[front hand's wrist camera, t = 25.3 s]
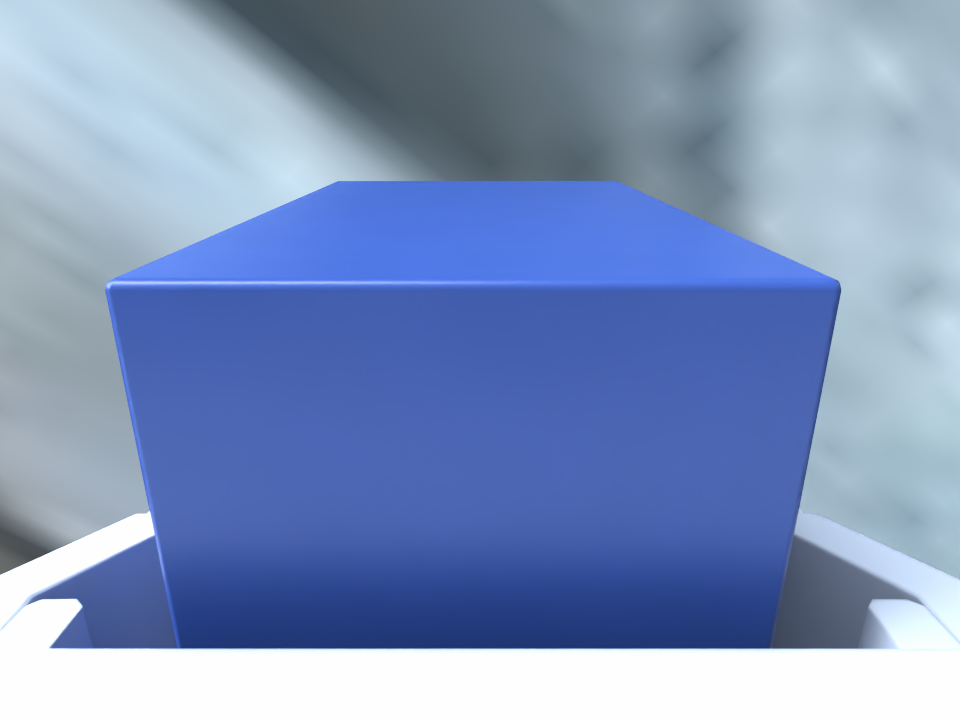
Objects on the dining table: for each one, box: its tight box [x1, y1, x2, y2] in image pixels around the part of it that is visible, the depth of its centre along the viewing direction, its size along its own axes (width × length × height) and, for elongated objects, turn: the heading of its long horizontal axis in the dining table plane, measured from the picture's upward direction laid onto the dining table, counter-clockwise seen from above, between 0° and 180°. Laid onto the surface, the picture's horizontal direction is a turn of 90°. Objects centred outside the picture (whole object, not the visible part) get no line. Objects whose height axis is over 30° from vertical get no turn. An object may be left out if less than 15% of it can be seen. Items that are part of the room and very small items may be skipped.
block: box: [106, 181, 841, 649], centre depth 10 cm, size 5×8×8 cm, turn 0°
